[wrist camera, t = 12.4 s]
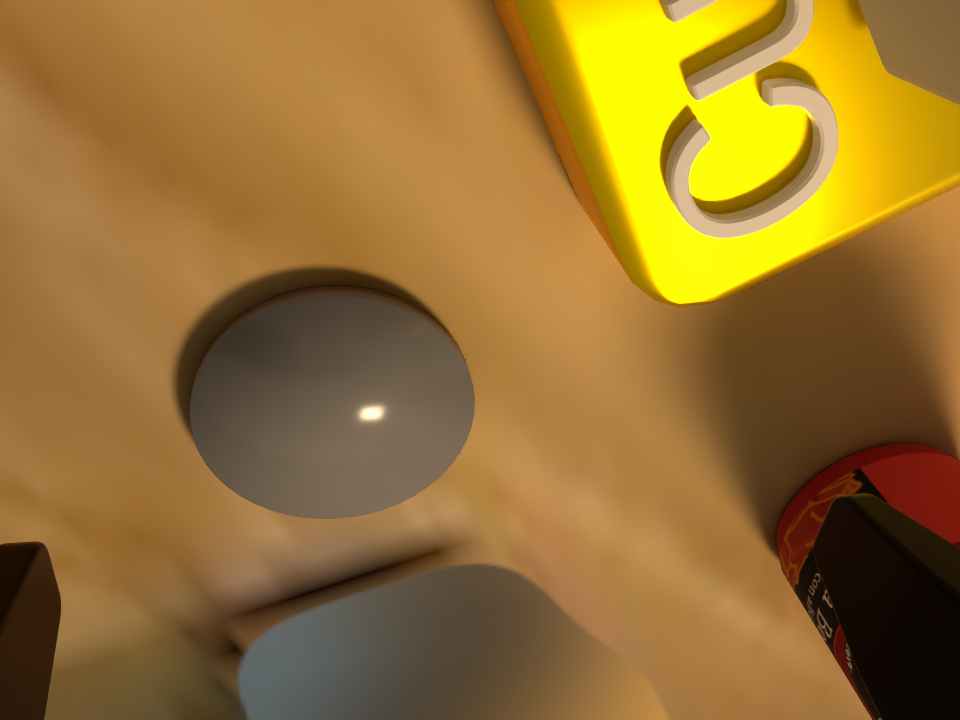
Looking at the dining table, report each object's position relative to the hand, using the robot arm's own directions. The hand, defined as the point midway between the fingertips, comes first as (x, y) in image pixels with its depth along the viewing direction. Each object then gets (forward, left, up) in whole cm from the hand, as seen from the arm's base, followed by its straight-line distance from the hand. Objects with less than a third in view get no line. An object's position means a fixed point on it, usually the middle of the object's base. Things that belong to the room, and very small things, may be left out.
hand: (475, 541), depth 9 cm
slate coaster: (-1, -8, -13) cm, 15 cm away
